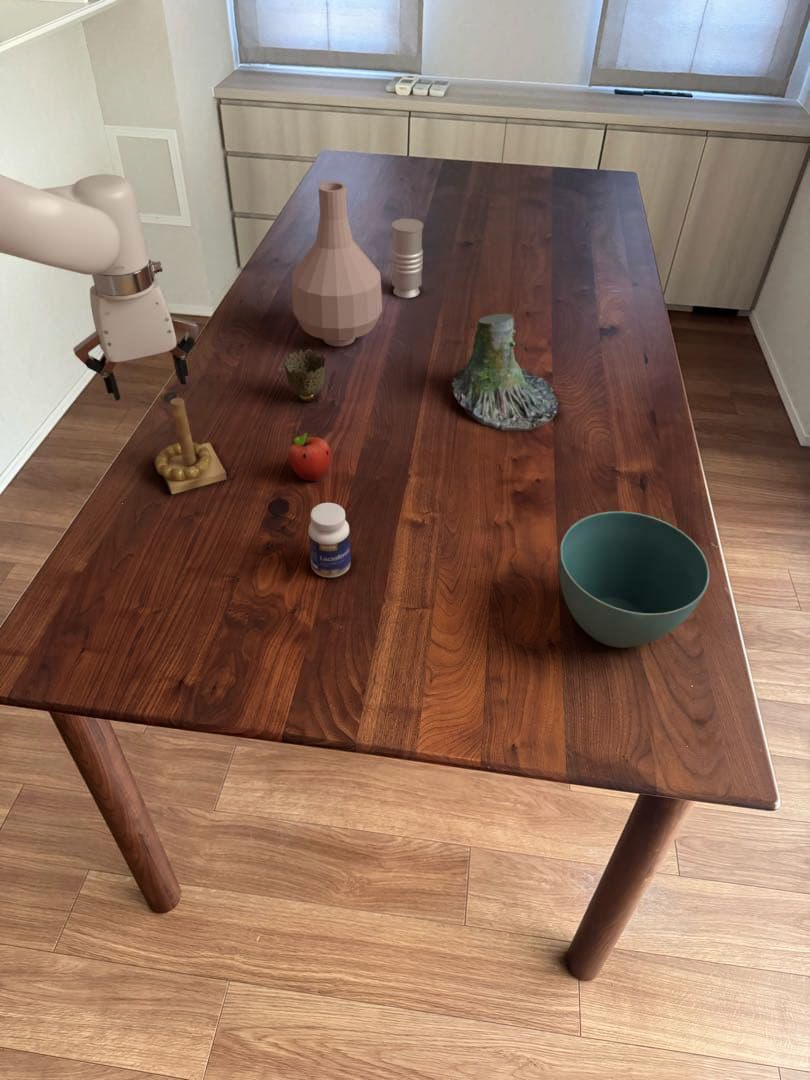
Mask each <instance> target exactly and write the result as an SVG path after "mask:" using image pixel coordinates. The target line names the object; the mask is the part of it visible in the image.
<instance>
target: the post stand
mask: <svg viewBox="0 0 810 1080" xmlns="http://www.w3.org/2000/svg"><path fill="white" fill-rule="evenodd" d="M169 401H170V406H171V412H172V417H173V420H174V421H173V422H174V425H175V430H176V434H177V435H176V436H177V438H178V443H179V444H180V448H181V453H182V454H179V455H175V456H173V457H172V458H171V459H169V460H168V462H167V465H168V466H169V467H171V468H176V469H184V468H188V467H191V466H193V465H195V464H196V463H198V462H199V460H200V457H199V456H198V455H195V452H194V447H193V443H194V442H193V438H192V433H191V428H190V425H189V424H190V423H189V419H188V414H187V409H186V405H185V400H184V398H182V397H174V398H172V399H171V400H169ZM200 445H202V446H204V447H206V448H207V449H208V450H209V452H210V454H211V456H212V461H211V464H210V466H209V468H208V470H206V471H205V472H204V473H202V474H201V475H199V476H198V477H195V478H191V479H187V480H170V479H168V478H166V477H164V476H163V478H164V480H165V482H166V485H167V488H168V490H169V492H170V494H171V495H175V494H179V493H182V492H186V491H189V490H193V489H196V488H200V487H204V486H207V485H212V484H215V483H219V482H222V481H225V480H227V479H228V478H227V471H226V470H225V469H224V467H223V464H222V462H221V461H220V459H219V457H218V456H217V453H216V452H215V450H214V448H213V446H212V444H211V442H205V443H202V444H200ZM157 456H158V455H156V456H155V459H156V458H157Z"/></svg>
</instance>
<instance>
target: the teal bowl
mask: <svg viewBox="0 0 810 1080" xmlns="http://www.w3.org/2000/svg"><path fill="white" fill-rule="evenodd" d="M558 555H559V556H558V572H559V582H560V588H561V591H562V594H563V597H564V600H565V601H564V602H565V603H566V606H567V608H568V610H569V612H570V613H571V616H572V618H573V619H574V620H575V622H576V623H577V624H578V625H579V626H580V628H581V629H582V630H583V631H584V632H585V633H586V634H588V636H590V637H591V638H592V639H594V640H595V641H597V642H598V643H600V644H603V645H605V646H609V647H613V648H619V649H621V648H622V649H625V648H626V649H627V648H635V647H640V646H644V645H647V644H648V645H649V644H650V643H653V642H656V641H658V640H660V639H661V638H663V637H665V636H667V635H668V634H670V633H672V631H674V630H675V629H677V628H678V627H679V626H680V625H681V624H682V623H684V622H685V620H686V619H687V618H688V617H689V616H690V615H691V614H692V613H693V612H694V610H695V609H696V607H697V606H698V604H699V603H700V602H701V600H702V598H703V596H704V594H705V593H706V590H707V588H708V586H709V582H710V568H709V564H708V561H707V558H706V556H705V554H704V552H703V551H702V550H701V548H700V547H699V546H698V545H697V543H696V542H695V541H694V540H693V539H691V537H689V535H687V534H686V533H685V532H683V531H682V530H681V529H679V528H677V527H676V526H674V525H672V524H671V523H669V522H667V521H664V520H662V519H660V518H657V517H654V516H650V515H647V514H643V513H639V512H633V511H623V510H622V511H620V510H619V511H618V510H617V511H615V510H613V511H605V512H604V511H603V512H598V513H593V514H590V515H587V516H586V517H583V518H581V519H579V520H578V521H576V522H575V523H574V524H572V525H571V526H570V527H569V528H568V530H567V531H566V532H565V533H564V535H563V537H562V540H561V543H560V548H559V554H558Z"/></svg>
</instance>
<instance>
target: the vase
mask: <svg viewBox="0 0 810 1080" xmlns="http://www.w3.org/2000/svg"><path fill="white" fill-rule="evenodd" d="M318 203H319V204H318V205H319V220H318V226H317V234H316V241H315V242H314V244H313V245H312V246H311V248H309V250H308V251H307V253H306V254H305V256H304V257H303V258H302V259H301V261H300V262H299V264H298V265H297V266H296V268H294V270H293V272H292V273H291V291H292V292H291V293H292V295H291V296H292V312H293V314H294V316H295V318H296V320H297V322H298V324H299V325H300V327H301V328H302V330H303V331H304V332H305V333H307V334H309V335H310V336H312V337H313V338H318V339H321V340H323V342H324V343H325V344H326V345H329V346H333V347H344V346H345V347H346V346H348V345H351V344H352V343H354V342H355V340H356V339H358V338H360V337H363V336H365V335H366V334H368V333H370V332H371V331H373V329H374V328H375V326H376V325H377V322H378V320H379V318H380V316H381V314H382V312H383V295H382V294H383V293H382V278H381V271H380V270H379V269H378V268H377V267H376V265H374V264H373V262H372V261H371V260H370V259H369V257H368V256H367V255H366V254H365V252H364V251H363V250H362V249H361V248H360V246H359V245H358V244H357V243H356V242H355V241H354V238H353V234H352V231H351V226H350V222H349V217H348V207H347V185H346V184H345V183H343V182H338V181H326V182H322V183H320V184H318Z"/></svg>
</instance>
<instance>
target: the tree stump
mask: <svg viewBox="0 0 810 1080" xmlns="http://www.w3.org/2000/svg"><path fill="white" fill-rule="evenodd" d="M476 326H477V328H476V332H475V334H474V341H473V345H472V353H471V356H470V357H469V359H468V360H467V363H465V366H463V367H462V368H460V369H458V371H457V375H456V376H455V377H454V378H453V379H452V381H453V382H451V385H452V388H453V396H454V398H455V399H456V401H457V403H458V404H459V406H461V407H462V409H464V411H465V412H466V413H467V415H468V416H469V417H471V418H472V419H474V421H477V422H479V424H481V425H484V426H487V427H492V428H494V429H497V430H500V431H531V430H534V429H537V428H539V427H541V426H544V425H547V424H549V423H550V422H551V420H553V419H554V418H555V416H556V414H557V412H558V406H559V402H558V398H557V396H556V394H555V391H554V390H553V387H552V386H551V385H550V384H549V383H548V381H547V380H545V379H544V378H543V377H541V376H539V375H534V373H533V374H532V373H531V372H530V371H529V370H526V368H523V367H522V368H521V367H520V365H519V364H518V362H517V361H516V358H515V354H514V353H515V352H514V346H515V345H516V342H515V340H514V337H515V334H516V330H515V329H514V326H515V319H514V315H513V314H510V313H496V314H495V313H494V314H492V315H491V314H490V315H486V316H482V317H481V318H479V319H478V323H477V325H476Z"/></svg>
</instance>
